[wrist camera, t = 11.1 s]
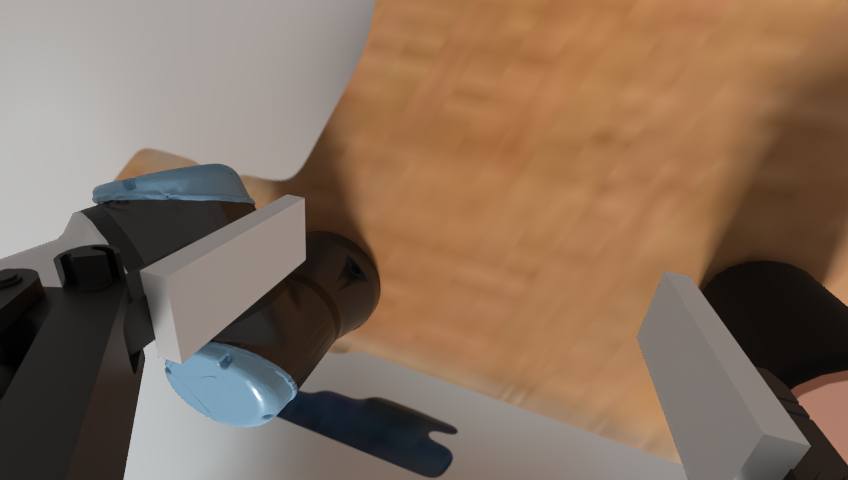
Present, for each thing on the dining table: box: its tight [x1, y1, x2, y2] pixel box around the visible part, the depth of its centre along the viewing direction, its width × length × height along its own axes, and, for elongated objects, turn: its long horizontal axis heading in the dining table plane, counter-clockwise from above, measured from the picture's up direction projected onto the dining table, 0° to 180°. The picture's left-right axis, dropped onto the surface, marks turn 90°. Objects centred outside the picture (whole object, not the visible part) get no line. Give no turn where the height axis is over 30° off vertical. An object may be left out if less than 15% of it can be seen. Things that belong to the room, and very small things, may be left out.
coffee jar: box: [702, 261, 848, 465], centre depth 35 cm, size 11×11×18 cm
